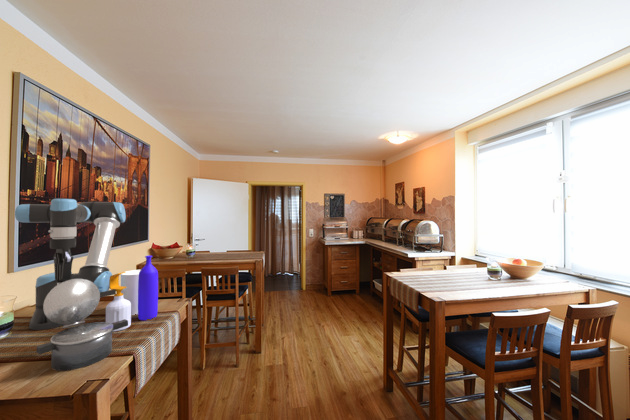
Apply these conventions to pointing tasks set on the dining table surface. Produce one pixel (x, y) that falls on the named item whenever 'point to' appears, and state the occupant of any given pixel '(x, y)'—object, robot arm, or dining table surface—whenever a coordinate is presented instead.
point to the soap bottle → (118, 304)
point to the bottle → (148, 291)
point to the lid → (73, 301)
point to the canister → (131, 288)
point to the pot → (81, 345)
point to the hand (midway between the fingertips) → (62, 298)
